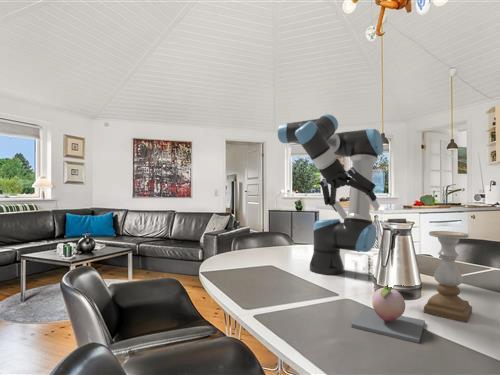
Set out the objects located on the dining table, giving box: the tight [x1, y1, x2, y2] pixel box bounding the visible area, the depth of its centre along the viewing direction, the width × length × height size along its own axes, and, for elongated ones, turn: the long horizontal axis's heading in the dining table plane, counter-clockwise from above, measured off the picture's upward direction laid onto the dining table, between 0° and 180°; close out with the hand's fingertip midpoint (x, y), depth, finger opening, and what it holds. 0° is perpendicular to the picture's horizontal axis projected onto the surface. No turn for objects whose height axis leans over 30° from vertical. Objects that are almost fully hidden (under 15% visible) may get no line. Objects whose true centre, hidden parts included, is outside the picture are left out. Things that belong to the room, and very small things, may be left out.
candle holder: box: [423, 230, 473, 324], centre depth 97 cm, size 11×11×24 cm
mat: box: [351, 308, 426, 344], centre depth 88 cm, size 16×14×1 cm
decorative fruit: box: [371, 285, 406, 322], centre depth 88 cm, size 9×8×10 cm
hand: (360, 213), depth 113 cm, fingers open, 13 cm apart
